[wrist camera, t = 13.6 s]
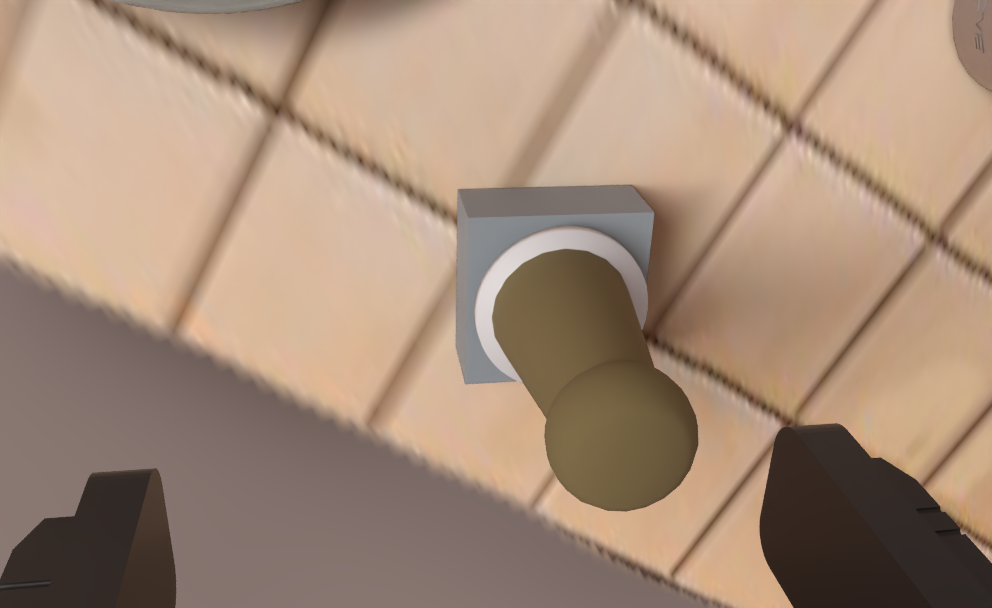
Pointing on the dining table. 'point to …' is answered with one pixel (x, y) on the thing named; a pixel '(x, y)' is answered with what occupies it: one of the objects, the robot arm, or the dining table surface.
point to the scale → (538, 253)
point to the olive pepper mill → (594, 381)
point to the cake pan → (208, 5)
